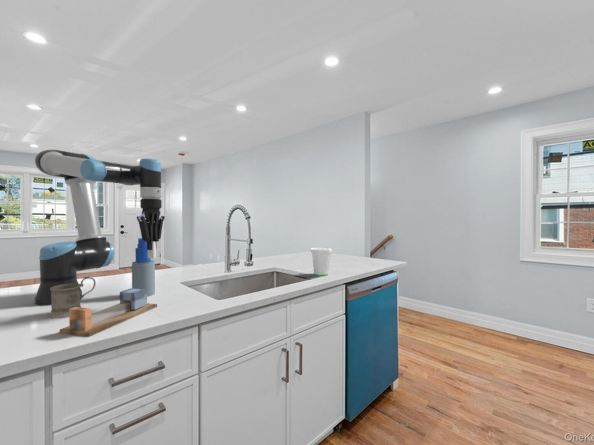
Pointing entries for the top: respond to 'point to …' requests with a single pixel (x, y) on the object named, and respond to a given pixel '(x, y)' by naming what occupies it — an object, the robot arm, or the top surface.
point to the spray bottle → (143, 270)
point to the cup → (321, 260)
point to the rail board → (109, 322)
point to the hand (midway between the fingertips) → (152, 257)
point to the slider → (133, 297)
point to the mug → (66, 298)
